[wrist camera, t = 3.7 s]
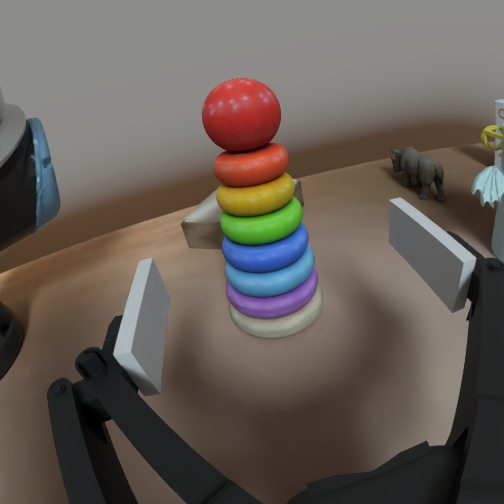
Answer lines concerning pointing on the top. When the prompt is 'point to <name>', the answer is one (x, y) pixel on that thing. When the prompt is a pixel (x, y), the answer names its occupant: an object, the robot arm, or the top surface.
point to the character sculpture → (493, 190)
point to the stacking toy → (260, 214)
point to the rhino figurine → (419, 171)
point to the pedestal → (213, 222)
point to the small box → (501, 117)
